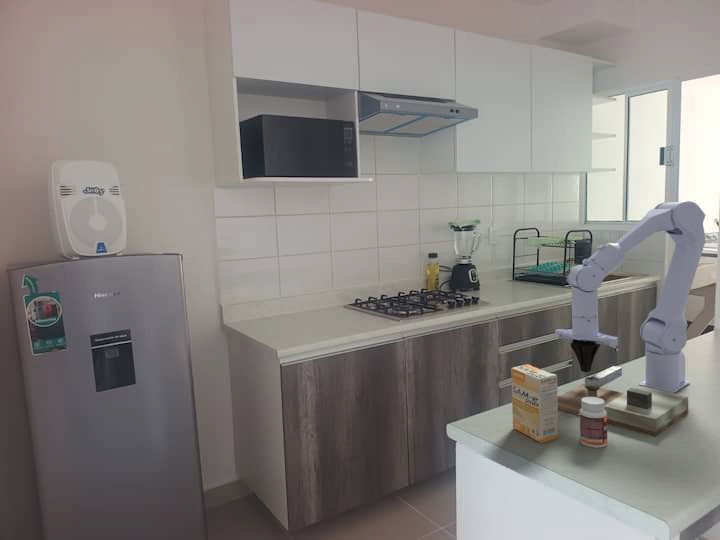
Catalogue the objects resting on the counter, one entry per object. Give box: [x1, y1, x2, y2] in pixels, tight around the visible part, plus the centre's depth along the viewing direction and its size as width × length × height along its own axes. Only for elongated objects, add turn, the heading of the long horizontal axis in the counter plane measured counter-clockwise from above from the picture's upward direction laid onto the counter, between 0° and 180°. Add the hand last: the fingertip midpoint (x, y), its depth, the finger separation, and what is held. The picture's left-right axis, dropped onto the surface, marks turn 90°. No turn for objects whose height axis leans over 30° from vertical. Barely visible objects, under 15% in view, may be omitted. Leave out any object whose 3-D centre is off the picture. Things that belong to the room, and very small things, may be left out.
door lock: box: [557, 383, 689, 437], centre depth 111 cm, size 16×23×6 cm
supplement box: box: [510, 363, 559, 444], centre depth 102 cm, size 8×5×13 cm, turn 23°
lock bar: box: [584, 365, 623, 390], centre depth 117 cm, size 14×3×2 cm, turn 128°
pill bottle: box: [578, 397, 608, 449], centre depth 96 cm, size 5×5×8 cm
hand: (586, 370), depth 123 cm, fingers closed
